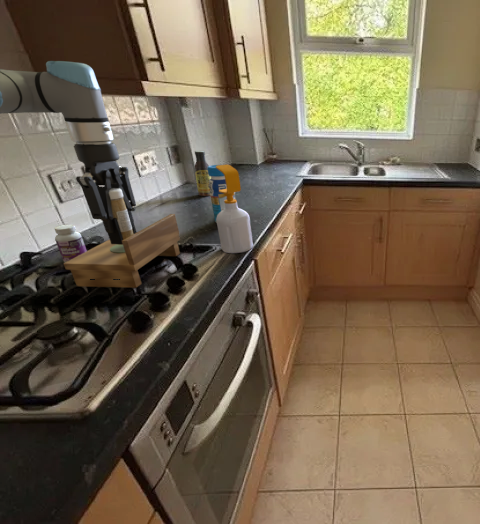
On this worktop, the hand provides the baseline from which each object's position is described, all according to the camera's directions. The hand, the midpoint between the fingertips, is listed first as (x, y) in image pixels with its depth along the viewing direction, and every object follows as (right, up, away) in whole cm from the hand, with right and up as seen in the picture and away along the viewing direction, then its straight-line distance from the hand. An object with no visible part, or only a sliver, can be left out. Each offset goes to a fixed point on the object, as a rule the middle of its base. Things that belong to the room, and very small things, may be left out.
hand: (124, 239), depth 84 cm
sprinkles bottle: (0, -1, 0) cm, 1 cm away
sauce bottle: (-15, +26, +73) cm, 79 cm away
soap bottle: (+22, -2, +17) cm, 28 cm away
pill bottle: (-18, -5, +7) cm, 20 cm away
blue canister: (+9, +10, +40) cm, 42 cm away
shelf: (0, -7, +4) cm, 8 cm away
